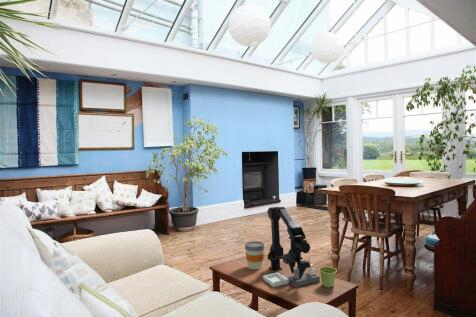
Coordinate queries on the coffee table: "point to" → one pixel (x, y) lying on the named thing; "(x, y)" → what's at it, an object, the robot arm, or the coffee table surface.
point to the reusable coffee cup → (254, 254)
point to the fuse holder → (304, 280)
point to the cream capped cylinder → (296, 273)
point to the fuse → (311, 270)
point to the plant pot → (328, 276)
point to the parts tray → (275, 279)
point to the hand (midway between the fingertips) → (296, 275)
